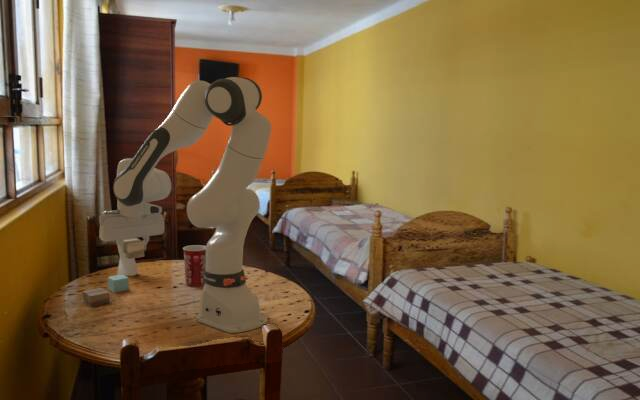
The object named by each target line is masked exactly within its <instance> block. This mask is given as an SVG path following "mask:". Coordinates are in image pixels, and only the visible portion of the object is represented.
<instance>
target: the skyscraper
mask: <svg viewBox="0 0 640 400" xmlns="http://www.w3.org/2000/svg"><path fill="white" fill-rule="evenodd" d="M131 239H138V238H130V239H123V241H124V240H131ZM116 245H117V250H118V251H117V252H118V254H119V261H118V266H117V271H116V272H117V273H116V275H124V276H126V277H128V276H131V277H133V276H136V275H139V271H138V268H137V264H136V258H133V259H128V258H126V257H124V256H123V254H122V253H120V247H119V246H118V244H117V243H116Z"/></svg>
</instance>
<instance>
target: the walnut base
mask: <svg viewBox="0 0 640 400" xmlns="http://www.w3.org/2000/svg"><path fill="white" fill-rule="evenodd" d="M82 300H83V301H85V302H86V303H87V304H89V305H94V306H96V305H95V304H98V305H101V304H100V303H103V304H105V303H104V302H108V303H110V302H109V301H111V299H110V292H109V291H107V289H105V288H103V287H97V288H93V289H88V290H87V289H86V290H83V291H82Z"/></svg>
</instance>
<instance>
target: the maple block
mask: <svg viewBox="0 0 640 400" xmlns="http://www.w3.org/2000/svg"><path fill="white" fill-rule="evenodd" d="M122 245H123V246H124V247H127V253H122V254H123V256H124V257H126V258H128V259H133V258H135V259H137V258H143V257H145V250H144V241H143V240H141V239H139V238H137V239H131V240H124V241H123V243H122Z"/></svg>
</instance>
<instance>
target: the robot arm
mask: <svg viewBox="0 0 640 400" xmlns="http://www.w3.org/2000/svg"><path fill="white" fill-rule="evenodd" d="M262 101H263V93H262V89H261V87H260V85H259V84H257V82H255V81H254V80H253V79H250V78H247V77H237V76H230V77H226V78H218V79H216V80H215V81H213V82H212V83H209V82H208V81H205V80H198V79H197V80H194V81H192V82H191V83H189V84H188V85H187V87H186V88H185V89H184V91H183V92H182V93H181V94H180V96H179V98H178V99H177V101H176V102H175V104H174V106H173V108H172V109H171V111H170V112H169V114H168V115H167V117H166V118H165V119H164V120H163V122H161V124H160V125H159V126H158V127H157V128H156V129H154V130H153V131H152V132H151V133H150V134H149V135H148V137H147V138H146V140H144V142H143V144H142V145H141V146H140V148H139V149H138V151H137V152H136V153H135V155H134V157H129V158H124V159H121V160H120V161H119V162H118V164H117V169H116V177H115V179H114V181H113V184H112V185H113V186H112V190H113V195H114V197H115V198H116V200H117V202H116V203H117V204H116V206H117V209H115V210H105V211H103V212H102V213H101V214H100V215H99V216H98V222H99V232H98V233H99V234H98V237H99V239H100V240H101V241H103V242H106V243H107V242H114V241H115V243H116V245H117V244H118V246H119V247H120V253H127V247H124V246H123V245H122V243H123V239H130V238H137V239H139V238H142V239H143V240H142V241H144V251H146V250H147V245H148V243H149V241H150V237H152V236H159V235H164V232H165V219H164V215H163V214H161V213H162V212H163V208H162V206H160V205H156V204H153V203H152V202H157V201H162V200H165V199H166V198H168V197H169V195H170V194H171V192H172V189H173V182H172V179H171V176H170V175H169V174H168V173H167V172H166V171H164V170H163V169H162V170H161V169H158V168H156V166H157V165H158V163H159V162H160V161H161V160H162V159H163V158H164V157H166V155H169V154H170V153H173V152H176V151H178V150H181V149H184V148H188V147H191V146H193V145H195V144H196V143H198V141H200V140H201V138H202V137H203V136H204V134H205V133H206V131H207V129H208V128H209V126H210V124H211V122H212V120H213V119H214V118H217V119H219V120H220V121H221V122H222V123H223V124H224V125H226V126H229V127H230V126H231V133H230V136H229V138H228V140H227V141H228V142H227V144H226V147H225V149H224V152H223V156H222V158H221V160H220V162H219V165H218V167H217V169H216V170H215V171H214V173H213V175H212V176H211V178H210V179H209V180H208V182H207V183H206V184H205V185H204V186H203V187H202V189H200V190H199V191H198V192H196V193H195V194H194V195H192V196H191V197H190V198H189V200H188V201H187V204H186V214H187V218H188V220H189V221H190V223H191V224H192V225H193V226H194V227H197V228H200V229H202V228H203V229H215V232H214V233H213V235H212V236H211V238H210V239H209V240H208V241H207V243H206V245H205V246H206V269H205V270H204V282H205V285H203V288H202V290H201V292H200V299H199V300H200V301H199V310H198V314H197V315H196V316H195V321H196V322H199V323H202V324H204V325H207V326H209V327H212V328H214V329H217V330H221V331H223V332H226V333H229V334H231V333H232V334H233V333H234V334H236V333H243V332H247V331H248V332H249V331H251V330H255V329H257V328H260V327H263V326H264V325H263V324H265V325H266V324H267V323H268V322H269V320H268V317H267V316H265V315H263V314H262V313H261V308H260V302H259V298H258V295H254V293H253V292H252V291H251V289H250V287H249V286H248V285H247V280H248V278H247V277H248V275H246V273H245V270H244V269H243V262H244V261H243V257H244V245H245V239H246V236H247V233H248V230H249V227H250V225H251V224H252V221H253V219H255V217H256V216H257V215H258V213H259V211H260V206H261V205H260V198H259V196H258V194H257V192H255V191H254V190H253V189H251V188H248V187H249V186H250V185H252V184H253V183H254V182H255V180H256V179H257V176H258V173H259V171H260V168H261V166H262V163H263V161H264V158H265V156H266V152H267V150H268V146H269V142H270V138H271V134H272V133H271V132H272V124H271V121H270V119H268V118H267V117H266V115H264V114H262V113H259V111H257V110H258V109H259V107H260V106H261V104H262ZM118 246H117V247H118ZM262 325H263V326H262Z"/></svg>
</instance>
